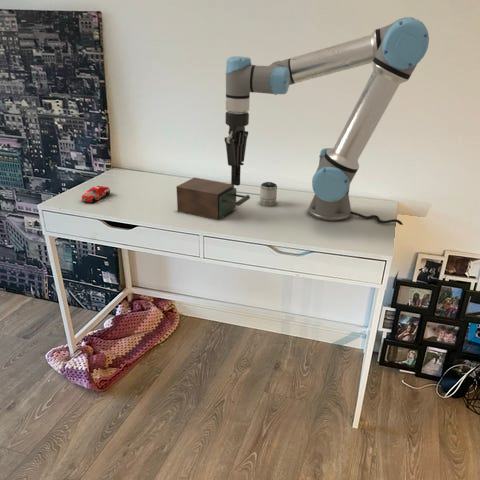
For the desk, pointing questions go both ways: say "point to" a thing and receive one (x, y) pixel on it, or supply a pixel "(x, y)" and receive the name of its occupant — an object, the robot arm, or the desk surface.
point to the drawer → (230, 201)
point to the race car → (96, 193)
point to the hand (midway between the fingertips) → (235, 184)
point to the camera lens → (268, 194)
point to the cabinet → (201, 197)
